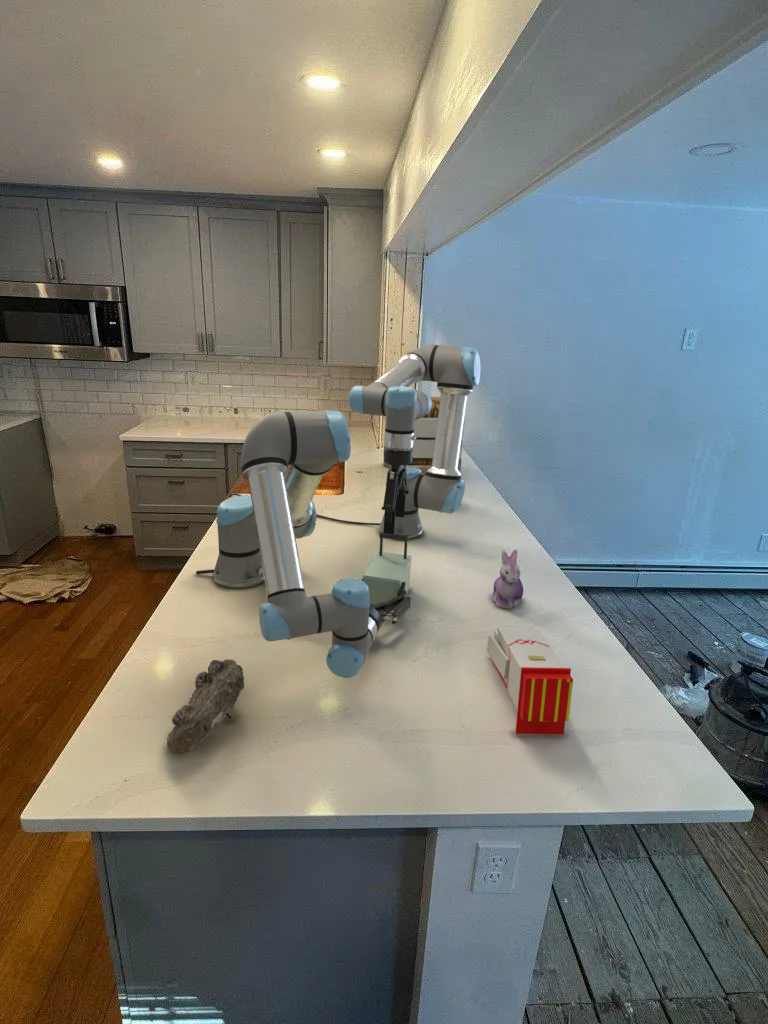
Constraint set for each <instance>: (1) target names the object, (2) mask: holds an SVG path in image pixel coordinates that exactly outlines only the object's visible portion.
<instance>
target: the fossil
mask: <svg viewBox="0 0 768 1024" xmlns="http://www.w3.org/2000/svg"><path fill="white" fill-rule="evenodd" d="M243 670H244V669H243V667H242V665H240V664H237V662H236V661H235V660H234V659H232V658H231V659H227V658H226V659H224V660H223V661H222V660H217V659H212V660H211V661H210V663H209V665H208V666H207V671H201V672H199V673H198V674H197V675H196V676H195V680H194V684H195V685H194V687H195V689H194V690H193V693H192V694H191V697H190V698H189V700H188V704H184V705H182V706H181V707H180V709H177V710H176V711H175V713H174V715H173V716H172V718H171V723H172V724H173V727H172V730H171V731H170V732H168V734H167V738H166V741H167V742H166V745H167V749H168V750H169V751H173V752H174V753H176V754H178V753H182V752H188V751H189V752H192V751H193V750H195V748H196V747H197V746H199V744H200V743H201V742H203V741H204V740H205V739H206V738H207V737H208V736H209V735H210V734H211V733H212V732H214V730H215V729H217V727H218V726H219V724H220V722H221V721H222V720H223V719H224V718H225V716H226V717H227V719H229V720H233V717H232V715H230V714H229V710H230V709H231V708H234V706H235V704H236V703H237V702H238V699H239V697H240V695H241V693H242V691H243V690H245V689H244V688H245V675H244V671H243Z"/></svg>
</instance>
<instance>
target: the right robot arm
mask: <svg viewBox="0 0 768 1024" xmlns="http://www.w3.org/2000/svg"><path fill="white" fill-rule="evenodd" d="M481 368H482V367H481V359H480V354H479V352H478V350H477V349H476V348H474V347H468V346H459V345H458V346H455V345H441V344H440V345H438V344H428V345H427V344H426V345H423V346H419V347H416V348H414V349H412V350H410V351H408V352H407V353H405V354H404V355H402V356H401V357H400V358H399V359H398V361H397V364H396V365H394V366H393V367H391V368H390V369H389V370H387V371H386V372H384V373H383V374H382V375H381V376H379V377H378V378H376V379H375V380H374V381H372V382H371V383H370V384H368V385H355V386H353V387H352V388H351V389H350V392H349V396H348V404H349V408H350V410H351V411H352V412H354V413H356V414H361V415H370V416H379V417H385V423H384V424H385V425H384V426H385V427H384V440H383V447H384V446H385V447H386V448H385V449H384V448H383V463H384V462H385V463H387V464H390V465H391V470H390V469H389V470H388V471H387V473H386V482H385V492H384V499H383V505H382V506H381V511H384V513H383V515H382V519H381V522H363V521H351V520H344V519H338V518H333V517H330V516H329V517H328V516H325V515H320V514H317V513H316V518H317V517H318V518H321V519H325V520H329V521H335V522H339V523H345V524H351V525H353V524H354V525H365V526H378V533H380V532H384V533H386V534H394V533H396V534H404V535H409V539H408V541H410V540H415V539H418V538H420V537H421V536H422V535H423V525H422V522H421V518H420V515H419V509H420V510H427V511H433V512H438V513H441V514H443V513H444V514H454V513H456V512H457V511H458V509H459V508H460V506H461V505H462V502H463V499H464V495H465V490H466V481H464V480H463V479H462V473H460V472H459V471H458V460H459V453H460V445H461V440H462V439H463V438H462V430H463V423H464V424H465V421H464V420H465V416H466V415H465V414H466V406H467V401H468V396H469V395H470V394H472V393H473V389H474V387H476V386H478V385H479V384H480V380H481V373H482V372H481ZM419 382H432V383H436V389H437V390H438V391H439V393H440V396H439V397H440V404H439V412H438V420H437V429H436V437H435V445H434V453H433V461H432V465H430V466H429V468H428V469H426V473H425V474H422V470H421V468H419V467H416V466H407V465H409V464H411V463H412V458H413V450H412V449H411V448H412V447H413V440H416V437H415V436H413V435H414V426H415V420H417V419H420V418H423V417H424V416H425V415H427V414H428V413H429V412H430V410H431V407H432V400H431V397H432V396H430V394H429V393H428V392H427V391H425V390H424V389H415V388H414V387H412V385H414V384H417V383H419ZM242 495H243V494H240V493H231V494H229V495H228V496H227V497H228V498H232V496H233V497H234V496H235V497H236V496H242ZM460 504H461V505H460Z"/></svg>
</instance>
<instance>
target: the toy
mask: <svg viewBox="0 0 768 1024" xmlns="http://www.w3.org/2000/svg"><path fill="white" fill-rule="evenodd" d="M493 633H494V634H492V633H488V638H487V645H486V653H487V654H488V656H489V658H490V661H491V662H492V664H493V666H494V667H495V669H496V671H497V673H498V675H499V676H500V678H501V680H502V683H503V684H504V686H505V688H506V689H507V692H508V694H509V696H510V698H511V701H512V702H513V705H514V706H515V709H516V721H515V734H516V735H557V736H558V735H563V736H565V727H566V723H569V721H570V711H571V703H572V695H573V693H572V692H573V685H574V678H573V677H572V676H571V672H572V669H571V667H565V665H564V664H563V662H562V661H561V660H560V658H559V657H558V656H557V654H556V653H555V652H554V650H553V649H552V647H551V646H550V645H549V643H548V642H547V641H546V639H545V637H544V635H543V633H541V632H540V631H539V629H538V628H535V627H534V628H533V627H532V628H531V627H529V628H526V627H525V628H524V627H498V628H497V629H494V632H493Z"/></svg>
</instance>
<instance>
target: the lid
mask: <svg viewBox="0 0 768 1024" xmlns="http://www.w3.org/2000/svg"><path fill="white" fill-rule="evenodd" d="M378 538H379V550H377V552H376V554H375V555H374V557H373V558H372V560H371V562H370V563H369V565H368V567H367V568H366V570H365V572H364V573H363V577H362V579H369V580H376V581H383V582H390V583H397V584H400V583H401V581H402V579H403V576H404V574H405V572H406V570H407V568H408V566H409V563H410V561H411V562H412V557H413V555H408V542H409V540H408V539H409V535H404V534H396V533H394V534H386V533H384V532H379V535H378ZM385 539H386V540H391V541H392V540H394V541H401V542H404V546H403V554H401V553H395V552H394V553H393V552H386V551H383V547H384V540H385Z"/></svg>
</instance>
